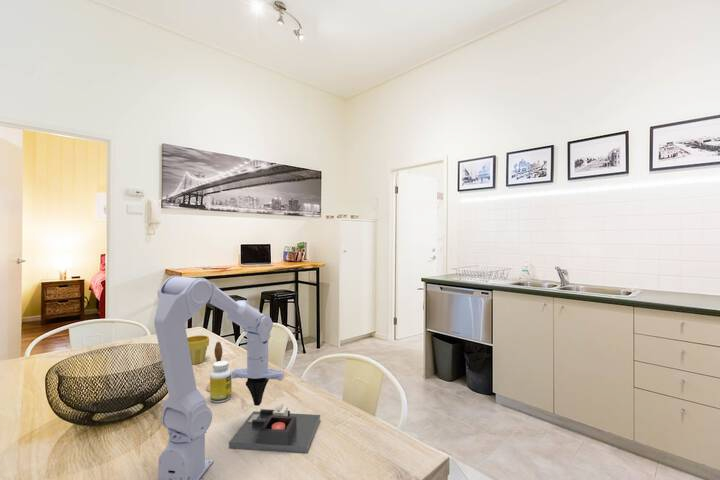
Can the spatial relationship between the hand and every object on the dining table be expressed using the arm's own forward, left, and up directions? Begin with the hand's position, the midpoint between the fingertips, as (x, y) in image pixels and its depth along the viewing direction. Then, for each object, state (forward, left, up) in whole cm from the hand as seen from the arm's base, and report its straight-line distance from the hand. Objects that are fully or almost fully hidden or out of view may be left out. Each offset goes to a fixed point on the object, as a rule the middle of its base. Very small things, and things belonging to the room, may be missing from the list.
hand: (257, 403), depth 97 cm
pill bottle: (+14, +18, -6) cm, 23 cm away
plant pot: (+44, +45, -6) cm, 63 cm away
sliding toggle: (0, -7, -4) cm, 8 cm away
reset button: (-7, -9, -4) cm, 12 cm away
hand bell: (+22, +23, -6) cm, 32 cm away
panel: (-3, -7, -6) cm, 10 cm away
